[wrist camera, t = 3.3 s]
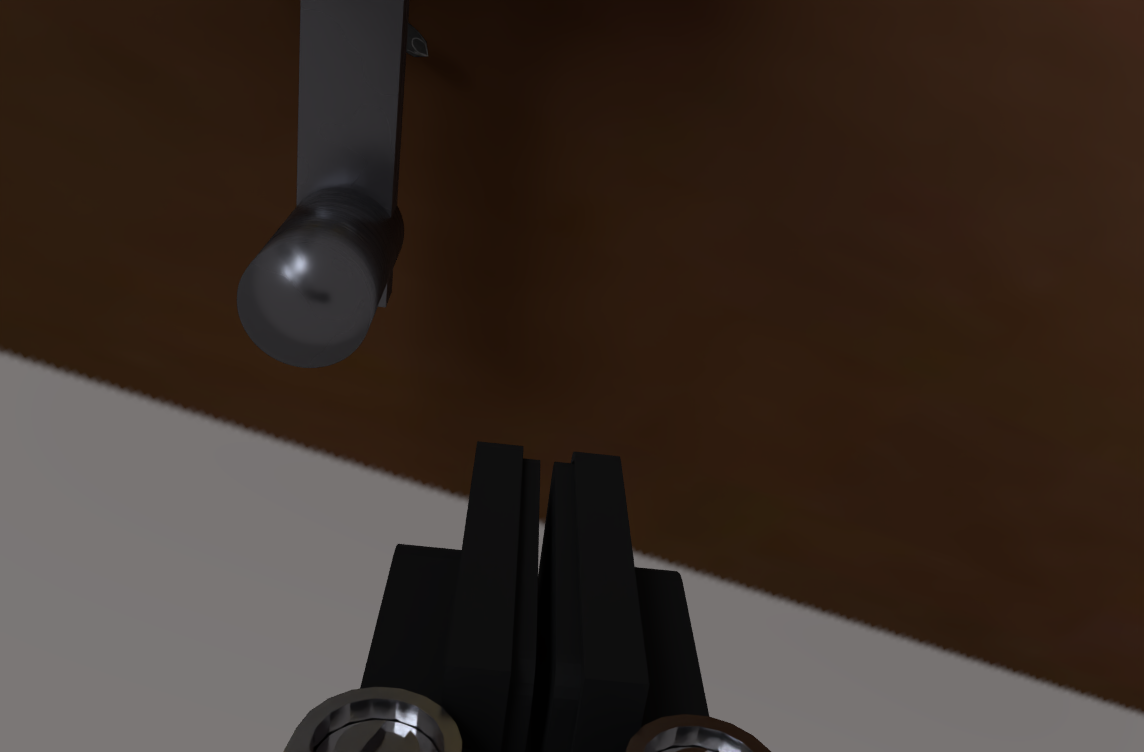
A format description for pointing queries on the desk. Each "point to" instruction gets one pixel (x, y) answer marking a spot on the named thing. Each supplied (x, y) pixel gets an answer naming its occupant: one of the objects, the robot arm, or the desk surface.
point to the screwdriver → (416, 43)
